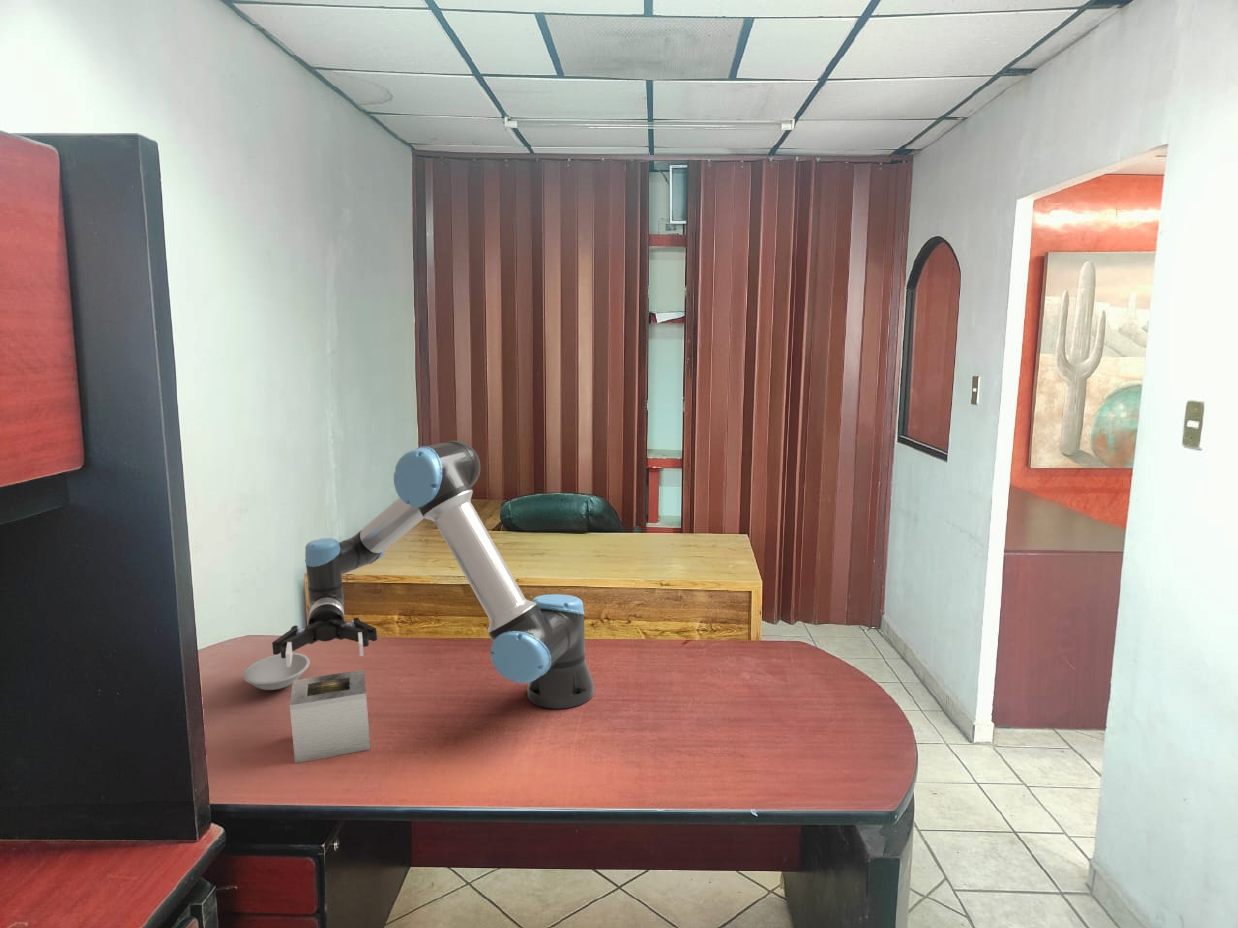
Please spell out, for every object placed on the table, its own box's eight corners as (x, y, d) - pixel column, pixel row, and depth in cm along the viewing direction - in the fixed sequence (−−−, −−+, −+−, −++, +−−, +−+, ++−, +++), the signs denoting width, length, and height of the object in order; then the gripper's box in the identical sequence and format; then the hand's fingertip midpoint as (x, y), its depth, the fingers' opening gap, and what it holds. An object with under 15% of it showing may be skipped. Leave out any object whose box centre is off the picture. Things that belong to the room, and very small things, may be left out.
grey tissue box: (368, 722, 168) (364, 669, 166) (370, 749, 157) (366, 693, 155) (298, 734, 163) (293, 680, 161) (295, 763, 152) (289, 705, 150)
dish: (257, 674, 193) (255, 655, 193) (317, 669, 196) (316, 650, 195) (235, 707, 176) (232, 686, 175) (302, 700, 179) (300, 680, 178)
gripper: (385, 627, 179) (391, 663, 159) (267, 643, 171) (258, 683, 151) (383, 596, 178) (389, 628, 158) (263, 611, 170) (254, 646, 150)
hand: (325, 655), depth 155 cm, fingers open, 13 cm apart
